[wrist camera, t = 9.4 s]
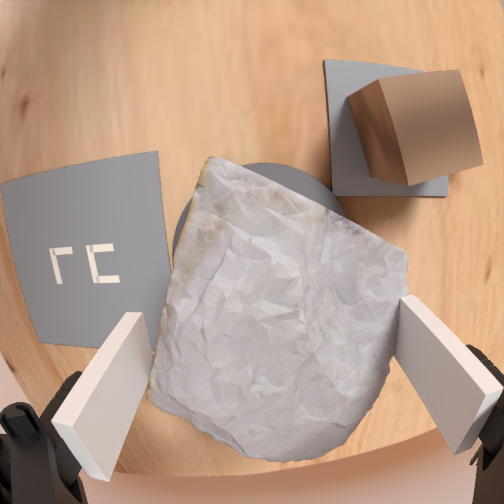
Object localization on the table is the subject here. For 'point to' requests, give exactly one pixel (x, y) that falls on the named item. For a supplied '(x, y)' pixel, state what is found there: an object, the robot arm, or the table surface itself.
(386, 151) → the walnut block
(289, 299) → the stone
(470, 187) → the table surface
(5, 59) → the table surface
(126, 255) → the tile
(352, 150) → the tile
